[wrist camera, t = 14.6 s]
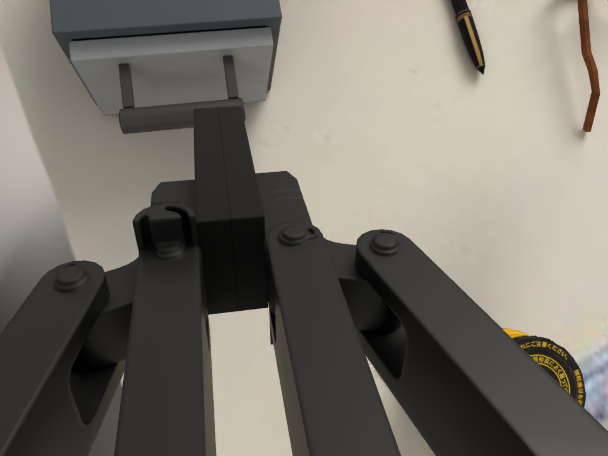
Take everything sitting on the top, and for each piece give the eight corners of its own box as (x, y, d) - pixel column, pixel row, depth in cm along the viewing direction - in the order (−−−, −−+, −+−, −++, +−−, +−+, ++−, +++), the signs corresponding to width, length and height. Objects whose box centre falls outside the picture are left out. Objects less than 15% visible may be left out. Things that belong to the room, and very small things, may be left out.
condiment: (454, 304, 39) (550, 293, 27) (523, 403, 38) (652, 436, 26) (375, 362, 37) (441, 378, 26) (445, 467, 37) (545, 532, 25)
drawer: (273, 154, 38) (284, 110, 31) (109, 172, 36) (76, 130, 29) (240, -63, 41) (242, -152, 33) (86, -56, 39) (51, -149, 32)
